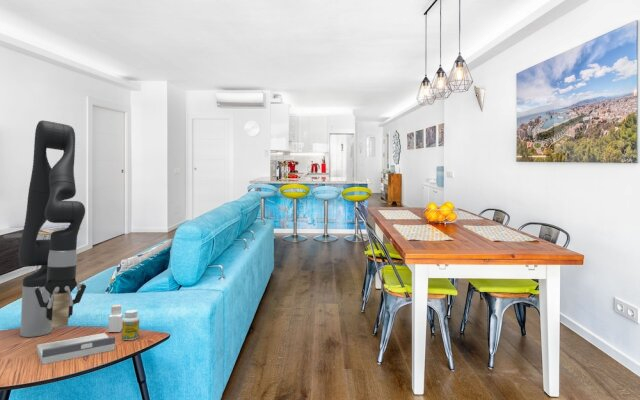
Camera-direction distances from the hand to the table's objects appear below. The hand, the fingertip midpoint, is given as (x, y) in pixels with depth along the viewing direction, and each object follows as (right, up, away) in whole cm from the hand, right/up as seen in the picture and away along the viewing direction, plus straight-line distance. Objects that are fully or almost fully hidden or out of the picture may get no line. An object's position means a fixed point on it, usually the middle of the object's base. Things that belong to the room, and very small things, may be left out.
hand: (59, 318), depth 120 cm
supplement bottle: (+15, -12, +14) cm, 24 cm away
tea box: (0, -2, 0) cm, 2 cm away
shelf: (+4, -11, +2) cm, 12 cm away
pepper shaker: (+7, -12, +21) cm, 25 cm away
